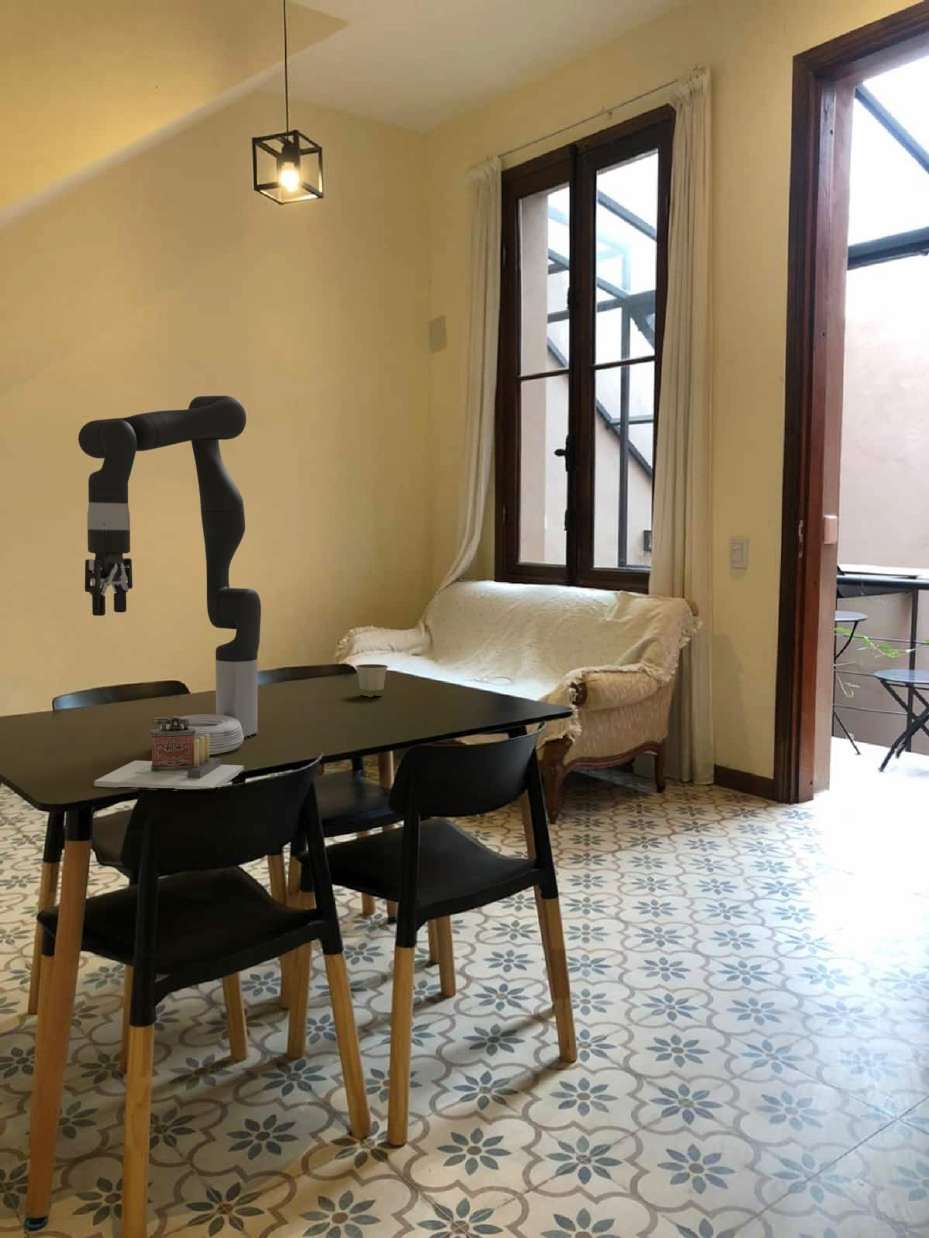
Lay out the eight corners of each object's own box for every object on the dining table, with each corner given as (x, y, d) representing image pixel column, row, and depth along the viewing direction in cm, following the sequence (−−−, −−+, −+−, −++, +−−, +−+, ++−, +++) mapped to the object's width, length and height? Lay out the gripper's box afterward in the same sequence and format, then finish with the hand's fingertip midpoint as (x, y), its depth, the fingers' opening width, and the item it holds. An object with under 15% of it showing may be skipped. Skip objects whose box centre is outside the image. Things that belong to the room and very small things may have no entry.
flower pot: (354, 693, 280) (355, 663, 280) (387, 693, 281) (387, 663, 281) (354, 698, 271) (355, 668, 270) (388, 698, 272) (388, 668, 271)
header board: (135, 765, 190) (134, 727, 189) (243, 770, 187) (243, 732, 187) (94, 786, 174) (93, 745, 173) (212, 792, 171) (212, 750, 171)
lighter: (195, 765, 185) (195, 714, 184) (196, 770, 182) (195, 717, 181) (151, 768, 183) (150, 715, 182) (150, 772, 180) (150, 719, 179)
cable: (219, 737, 219) (218, 710, 218) (259, 750, 206) (259, 722, 205) (144, 747, 207) (144, 719, 206) (183, 762, 194) (183, 732, 194)
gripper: (110, 527, 175) (111, 617, 176) (144, 528, 189) (145, 611, 190) (70, 527, 175) (71, 616, 177) (107, 527, 189) (108, 610, 191)
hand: (109, 613), depth 183 cm, fingers open, 8 cm apart
